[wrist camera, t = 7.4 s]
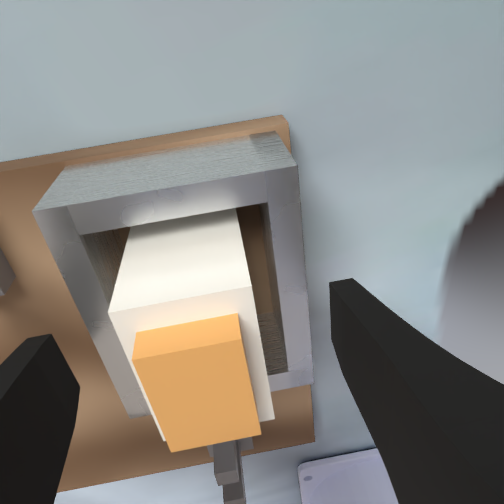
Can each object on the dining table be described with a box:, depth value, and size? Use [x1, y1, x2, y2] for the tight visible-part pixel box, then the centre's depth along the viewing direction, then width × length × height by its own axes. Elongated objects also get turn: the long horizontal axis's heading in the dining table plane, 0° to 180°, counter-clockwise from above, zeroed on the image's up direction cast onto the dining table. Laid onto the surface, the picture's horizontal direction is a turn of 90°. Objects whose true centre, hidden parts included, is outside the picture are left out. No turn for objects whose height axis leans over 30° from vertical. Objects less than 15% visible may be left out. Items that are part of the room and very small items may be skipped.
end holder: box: [32, 130, 314, 419], centre depth 13 cm, size 8×6×3 cm
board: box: [0, 115, 315, 493], centre depth 16 cm, size 16×14×1 cm
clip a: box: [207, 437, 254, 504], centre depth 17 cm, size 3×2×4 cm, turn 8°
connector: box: [108, 208, 275, 453], centre depth 11 cm, size 4×3×6 cm, turn 8°
